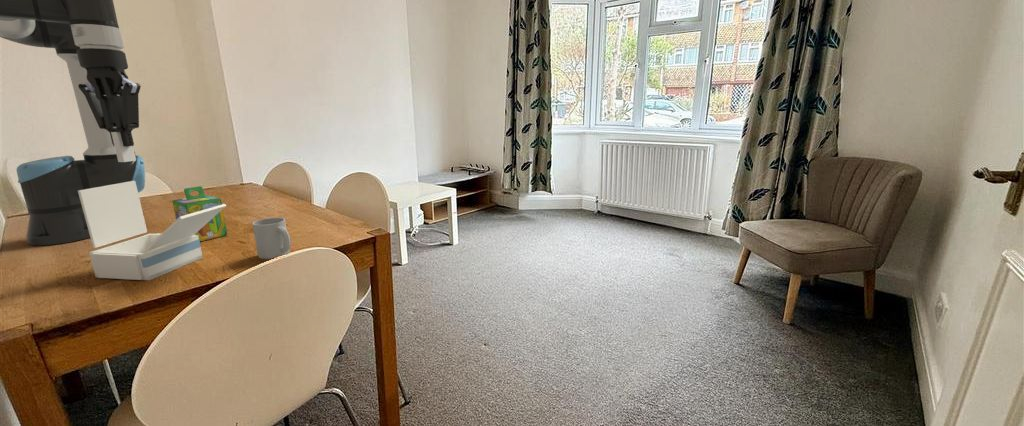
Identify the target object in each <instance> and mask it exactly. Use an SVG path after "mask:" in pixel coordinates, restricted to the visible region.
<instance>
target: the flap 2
mask: <svg viewBox="0 0 1024 426" xmlns="http://www.w3.org/2000/svg"><path fill="white" fill-rule="evenodd" d="M226 207H227V205H226V204H225V203H222V205H219V206H215V207H212V208H208V209H205V210H201V211H198V212H194V213H191V214H187V215H184V216H181V217H179V218H178V219H177V220H176V219H175V220H174V222H172V224H171V223H170V225H169V226H168V227H166V229H165V230H164V231H163V232H161V233H162V234H161V235H160V236H158V237H157V238H156V239H155V240H154V241H153V242H152V243H151V244H150V245H149V246H148V247H147V248H146V249H145V250H146V251H149V250H152V249H155V248H158V247H161V246H163V245H166V244H169V243H172V242H175V241H178V240H181V239H184V238H186V237H189V236H192V235H194V234H195V233H197V232H198V231H199V230H200V229H201V228H202V227H203V226H204V225H206V224H207V223H208V222H209V221H210V220H211V219H212V218H213V217H214V216H216V215H217V214H218V213H219V212H220V211H221V210H222V209H223V210H224V209H225V208H226Z"/></svg>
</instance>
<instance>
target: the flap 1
mask: <svg viewBox="0 0 1024 426" xmlns="http://www.w3.org/2000/svg"><path fill="white" fill-rule="evenodd" d="M78 194H79V197H80V201H81V205H82V208H83V212H84V216H85V219H86V223H87V227H88V230H89V234H90V237H89V238H90V240H91V245H92V247H93V249H94V248H95V249H96V248H99V247H103V246H106V245H111V244H113V243H116V242H120V241H122V240H126V239H129V238H130V239H131V238H132V237H135V236H138V235H140V236H141V235H143V234H146V233H148V229H147V225H146V220H145V217H144V212H143V207H142V203H141V200H140V195H139V193H138V190H137V186H136V182H135V181H130V182H124V183H119V184H113V185H107V186H102V187H96V188H90V189H85V190H79V191H78Z"/></svg>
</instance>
